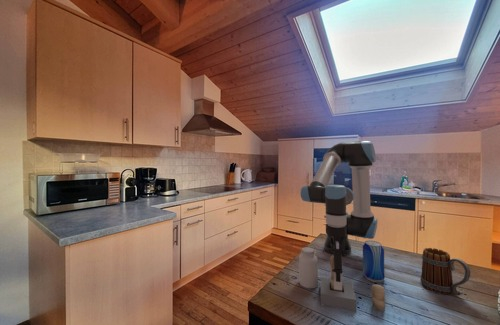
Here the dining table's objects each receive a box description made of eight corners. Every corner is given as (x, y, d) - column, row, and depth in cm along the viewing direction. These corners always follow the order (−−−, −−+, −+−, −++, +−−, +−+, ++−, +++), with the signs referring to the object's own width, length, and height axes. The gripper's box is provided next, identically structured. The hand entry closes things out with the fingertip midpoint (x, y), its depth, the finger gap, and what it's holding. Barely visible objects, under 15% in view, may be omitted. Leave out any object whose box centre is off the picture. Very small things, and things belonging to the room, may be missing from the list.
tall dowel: (341, 295, 83) (340, 257, 83) (342, 301, 79) (341, 261, 80) (331, 293, 84) (330, 256, 85) (331, 299, 80) (330, 260, 81)
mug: (414, 283, 91) (414, 248, 91) (429, 278, 95) (429, 245, 95) (462, 306, 76) (461, 264, 76) (477, 298, 80) (476, 259, 80)
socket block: (320, 286, 89) (320, 277, 89) (351, 291, 85) (351, 281, 85) (320, 304, 78) (320, 293, 78) (356, 311, 74) (356, 300, 74)
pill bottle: (303, 290, 87) (303, 253, 87) (296, 279, 95) (296, 246, 95) (321, 288, 88) (321, 252, 88) (312, 277, 96) (312, 245, 96)
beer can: (387, 284, 90) (387, 247, 90) (366, 282, 92) (366, 245, 92) (379, 274, 98) (379, 240, 99) (360, 272, 100) (360, 239, 100)
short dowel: (370, 302, 79) (370, 283, 79) (383, 304, 77) (382, 285, 78) (373, 309, 75) (373, 289, 75) (386, 311, 74) (386, 291, 74)
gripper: (324, 216, 95) (325, 263, 94) (326, 233, 71) (327, 296, 71) (342, 217, 92) (343, 266, 92) (350, 236, 69) (351, 301, 69)
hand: (336, 279), depth 82 cm, fingers open, 12 cm apart
